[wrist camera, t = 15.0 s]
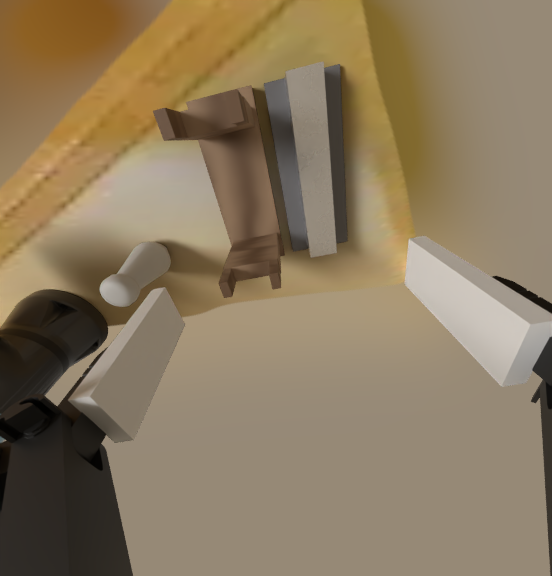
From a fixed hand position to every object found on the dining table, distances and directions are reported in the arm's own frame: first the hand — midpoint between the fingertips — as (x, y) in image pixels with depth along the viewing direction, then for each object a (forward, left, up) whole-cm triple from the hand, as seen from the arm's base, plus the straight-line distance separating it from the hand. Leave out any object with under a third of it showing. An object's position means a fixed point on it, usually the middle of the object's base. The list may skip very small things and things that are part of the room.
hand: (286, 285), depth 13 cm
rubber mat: (+5, +1, -27) cm, 27 cm away
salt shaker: (-22, -6, -27) cm, 35 cm away
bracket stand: (-5, +1, -27) cm, 27 cm away
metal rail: (+5, +1, -26) cm, 26 cm away
